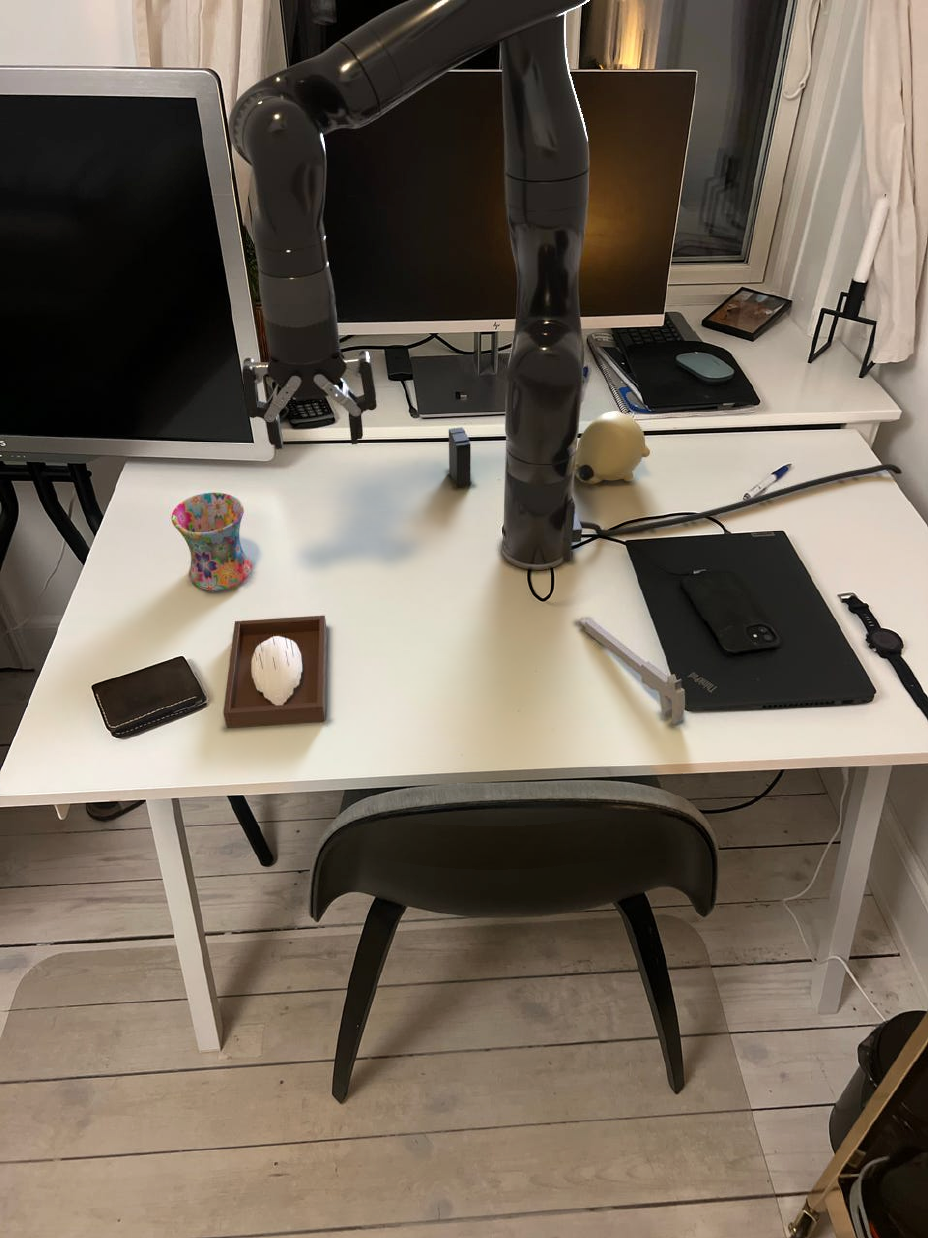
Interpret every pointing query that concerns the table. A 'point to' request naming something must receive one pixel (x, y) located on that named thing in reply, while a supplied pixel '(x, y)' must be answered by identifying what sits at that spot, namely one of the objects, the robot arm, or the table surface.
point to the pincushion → (276, 668)
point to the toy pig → (610, 449)
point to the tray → (308, 696)
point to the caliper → (644, 672)
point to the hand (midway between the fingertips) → (317, 443)
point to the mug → (213, 539)
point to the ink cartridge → (459, 457)
